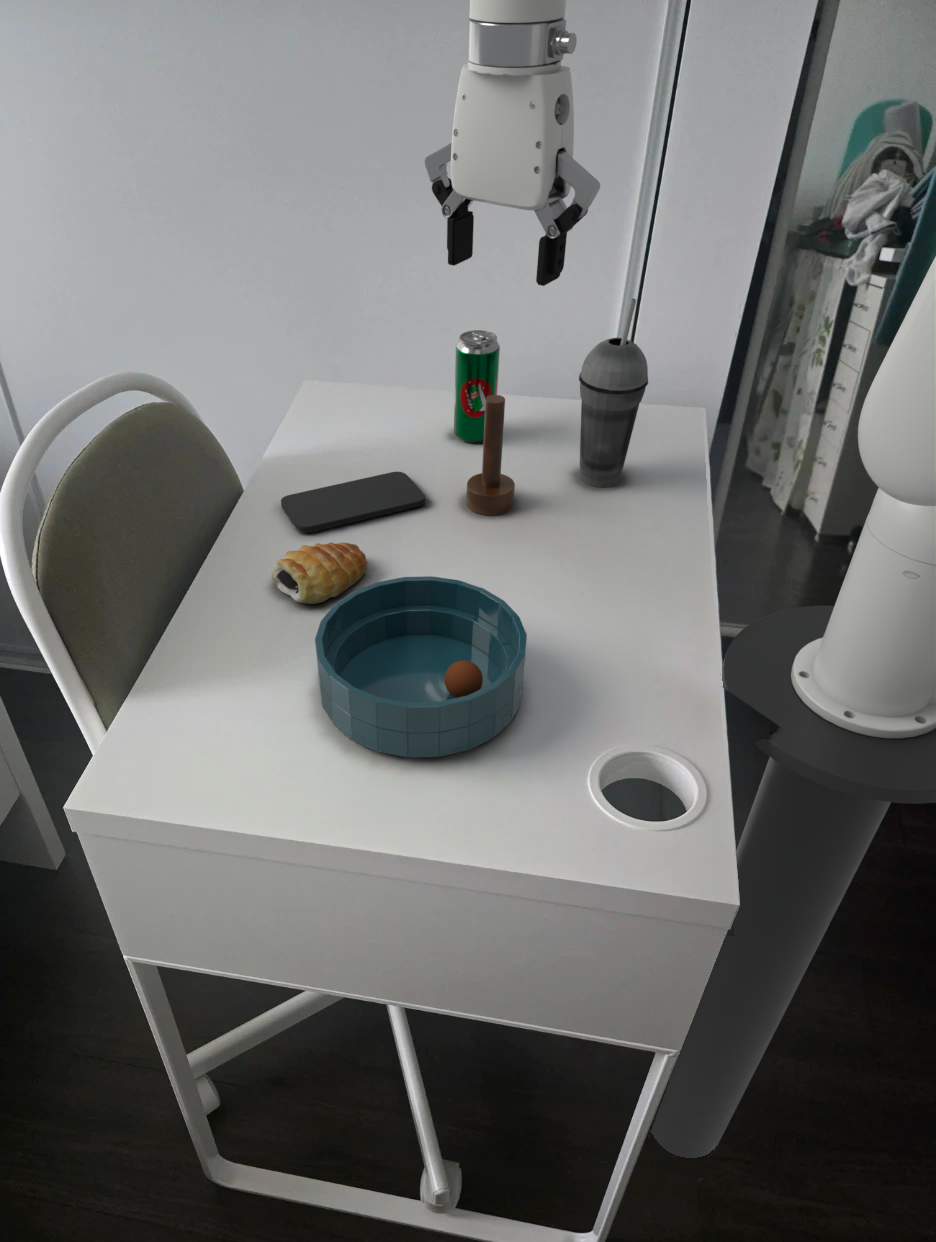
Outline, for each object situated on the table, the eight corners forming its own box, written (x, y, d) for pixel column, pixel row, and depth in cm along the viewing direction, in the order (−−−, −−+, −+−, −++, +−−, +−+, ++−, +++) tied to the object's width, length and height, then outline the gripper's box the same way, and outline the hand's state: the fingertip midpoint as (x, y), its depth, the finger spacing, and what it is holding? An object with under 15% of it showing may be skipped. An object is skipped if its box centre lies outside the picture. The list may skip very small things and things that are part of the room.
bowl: (524, 636, 86) (529, 582, 82) (516, 772, 74) (522, 716, 70) (340, 623, 88) (336, 570, 84) (302, 754, 76) (295, 698, 72)
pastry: (341, 549, 98) (339, 517, 95) (383, 577, 94) (382, 545, 91) (267, 584, 93) (262, 552, 91) (307, 615, 89) (304, 582, 87)
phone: (429, 499, 103) (299, 529, 99) (429, 505, 104) (300, 536, 99) (402, 469, 108) (277, 496, 104) (402, 476, 109) (278, 503, 104)
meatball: (450, 649, 78) (435, 678, 80) (458, 673, 76) (442, 702, 78) (484, 657, 80) (468, 685, 81) (492, 681, 77) (476, 709, 79)
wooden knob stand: (514, 492, 105) (522, 388, 97) (512, 517, 102) (519, 411, 93) (468, 490, 106) (471, 386, 98) (464, 514, 102) (467, 409, 94)
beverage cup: (600, 455, 111) (625, 278, 97) (645, 480, 107) (678, 298, 93) (554, 474, 108) (573, 293, 95) (598, 500, 104) (624, 314, 90)
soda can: (470, 422, 118) (474, 325, 110) (503, 433, 116) (509, 335, 108) (445, 436, 116) (446, 338, 107) (478, 449, 113) (482, 349, 105)
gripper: (634, 47, 74) (605, 277, 85) (454, 32, 82) (450, 244, 93) (587, 62, 69) (563, 302, 81) (401, 44, 77) (404, 265, 89)
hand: (503, 271), depth 87 cm, fingers open, 9 cm apart
